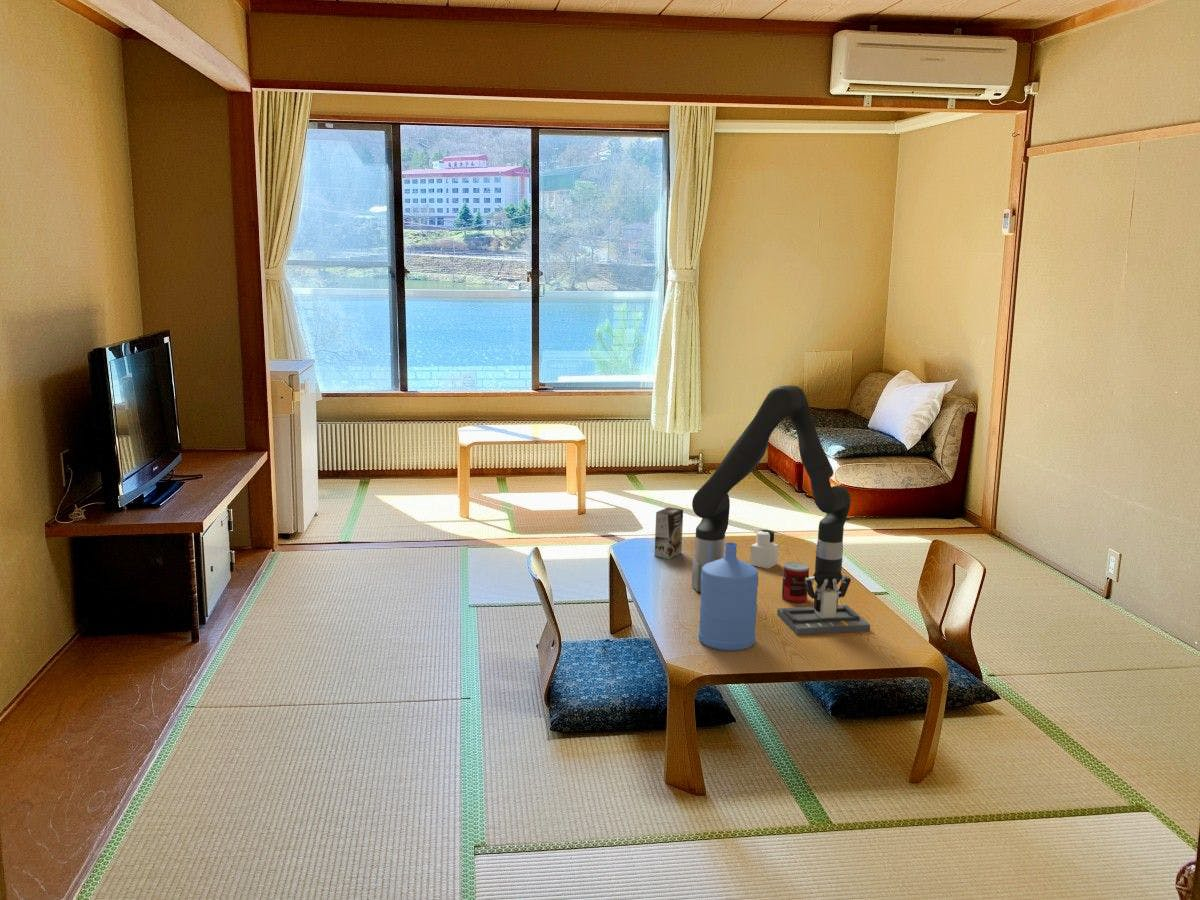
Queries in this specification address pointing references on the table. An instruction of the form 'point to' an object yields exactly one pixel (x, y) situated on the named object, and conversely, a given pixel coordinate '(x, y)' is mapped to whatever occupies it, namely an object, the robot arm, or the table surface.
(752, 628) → the water jug
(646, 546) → the table surface
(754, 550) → the medicine bottle
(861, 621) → the console
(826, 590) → the block
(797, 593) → the canned food
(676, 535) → the coffee box
